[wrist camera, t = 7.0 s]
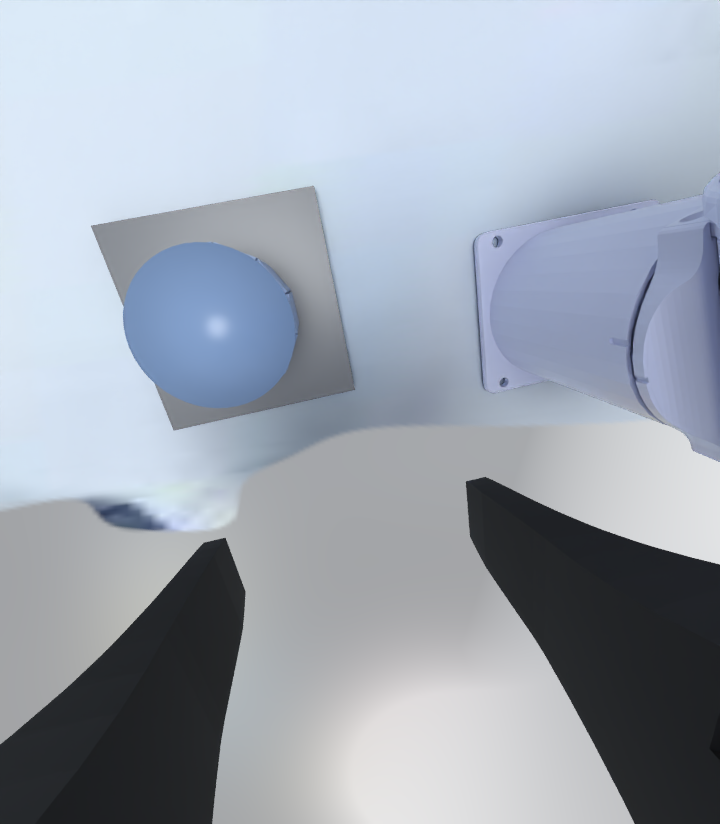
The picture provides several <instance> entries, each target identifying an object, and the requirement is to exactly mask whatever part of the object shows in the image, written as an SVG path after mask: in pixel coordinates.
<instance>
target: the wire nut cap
mask: <svg viewBox="0 0 720 824" xmlns="http://www.w3.org/2000/svg"><path fill="white" fill-rule="evenodd" d="M290 290H291V289H290V288H289V287H288V286H287V285H286V284H285V283H284V281H283V280H282V279H281V278H280V277H279V276H278V275H277V273H276V272H275V271H274V270H273V269H272V268H271V267H270V266H269V265H268V264H266V263H264V262H263V261H261V260H259V259H258V258H256V257H253V256H251V255H248V254H245V253H243V252H240V251H238V250H235V249H233V248H230V247H227V246H224V245H221V244H218V243H216V242H214V243H213V242H192V243H183V244H180V245H176V246H172V247H170V248H167V249H165V250H163V251H161V252H159V253H158V254H156V255H154V256H153V257H152V258H150V259H149V260H148V261H147V262H146V263H145V264H144V265H143V266H142V267H141V268H140V269H139V270H138V272H137V273H136V275H135V276H134V278H133V279H132V281H131V283H130V286H129V288H128V290H127V293H126V297H125V302H124V310H123V322H124V330H125V335H126V339H127V342H128V345H129V348H130V350H131V352H132V354H133V356H134V358H135V360H136V361H137V363H138V364H139V366H140V367H141V369H142V370H143V371H144V372H145V374H146V375H147V376H148V377H149V378H150V379H151V380H152V381H153V382H154V383H155V384H156V385H158V386H159V387H160V388H161V389H163V390H164V391H165V392H167V393H169V394H170V395H172V396H174V397H176V398H178V399H180V400H182V401H184V402H187V403H190V404H193V405H197V406H202V407H208V408H229V407H236V406H240V405H243V404H247V403H249V402H251V401H254V400H256V399H258V398H259V397H261V396H263V395H264V394H265V393H267V392H268V391H269V390H271V389H272V388H273V387H274V386H275V385H276V384H277V382H278V381H279V380H280V379H281V377H282V376H283V375H284V374H285V373H286V370H288V366H289V363H290V360H291V357H292V354H293V349H294V346H295V343H296V339H297V336H298V327H299V319H298V315H297V311H296V307H295V302H294V298H293V294H292V292H289V291H290ZM288 292H289V293H288Z"/></svg>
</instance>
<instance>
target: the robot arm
mask: <svg viewBox="0 0 720 824" xmlns="http://www.w3.org/2000/svg"><path fill="white" fill-rule="evenodd" d="M494 237H497V238H498V241H499V243H498V246H497V247H496V248H495V247H494V246H493V244H492V241H493V238H494ZM474 251H475V266H476V281H477V296H478V311H479V325H480V340H481V355H482V370H483V385H484V388H485V389H486V390H487V391H489V392H491V393H497V392H501V391H506V390H510V389H514V388H519V387H523V386H527V385H531V384H536V383H540V382H544V381H549V380H550V381H553V382H555V383H558V384H561V385H563V386H566V387H568V388H571V389H574V390H576V391H579V392H581V393H584V394H587V395H589V396H592V397H594V398H597V399H600V400H602V401H605V402H607V403H610V404H613V405H615V406H618V407H620V408H623V409H626V410H628V411H631V412H633V413H636V414H639V415H641V416H644V417H646V418H649V419H652V420H654V421H657V422H659V423H662V424H665V425H668V426H671V427H673V428H675V429H677V430H679V431H681V432H682V433H684V434H685V435H686V436H687V438H688V439H689V441H690V443H691V447H692V450H693V451H695V452H697V453H700V454H702V455H704V456H707V457H709V458H712V459H714V460H716V461H718V462H720V173H718V174H717V175H716V176H715V177H714V178H713V179H712V180H711V181H710V182H709V183H708V184H707V186H706V187H705V189H704V192H703V194H702V195H698V196H693V197H689V198H684V199H680V200H676V201H671V202H667V203H662V204H660V203H659V201H657V200H648V201H642V202H637V203H632V204H627V205H622V206H617V207H612V208H607V209H602V210H597V211H592V212H586V213H581V214H576V215H571V216H566V217H561V218H556V219H551V220H546V221H541V222H536V223H530V224H525V225H520V226H515V227H510V228H505V229H500V230H495V231H490V232H485V233H482V234H480V235H479V236H478V237H477V238H476V240H475V243H474ZM502 378H505V382H504V383H503V384H502V385H500V384H499V383H500V380H501V379H502ZM466 488H467V501H468V515H469V528H470V537H471V539H472V541H473V543H474V545H475V547H476V549H477V551H478V553H479V555H480V557H481V559H482V560H483V562H484V564H485V566H486V568H487V569H488V571H489V572H490V574H491V575H492V577H493V578H494V580H495V581H496V583H497V584H498V586H499V587H500V588H501V590H502V591H503V593H504V594H505V596H506V597H507V599H508V600H509V602H510V603H511V605H512V606H513V608H514V609H515V610H516V612H517V613H518V615H519V616H520V618H521V619H522V620H523V622H524V624H525V625H526V626H527V628H528V629H529V631H530V632H531V633H532V635H533V637H534V638H535V640H536V641H537V643H538V644H539V646H540V648H541V649H542V651H543V652H544V654H545V656H546V657H547V659H548V661H549V663H550V664H551V666H552V668H553V670H554V672H555V673H556V675H557V677H558V678H559V680H560V682H561V684H562V686H563V687H564V689H565V691H566V693H567V695H568V697H569V698H570V700H571V702H572V704H573V706H574V708H575V709H576V711H577V713H578V715H579V717H580V719H581V720H582V722H583V724H584V726H585V728H586V730H587V732H588V733H589V735H590V737H591V739H592V741H593V743H594V744H595V747H596V749H597V750H598V753H599V754H600V756H601V758H602V760H603V762H604V764H605V766H606V767H607V770H608V772H609V773H610V775H611V778H612V780H613V781H614V783H615V785H616V787H617V789H618V791H619V793H620V795H621V797H622V799H623V801H624V803H625V805H626V807H627V809H628V811H629V813H630V815H631V817H632V819H633V821H634V823H635V824H720V565H719V564H715V563H711V562H707V561H703V560H699V559H695V558H691V557H687V556H684V555H680V554H677V553H673V552H669V551H666V550H662V549H658V548H655V547H652V546H648V545H645V544H642V543H639V542H636V541H633V540H630V539H627V538H624V537H621V536H618V535H615V534H612V533H610V532H607V531H604V530H601V529H598V528H596V527H593V526H591V525H588V524H586V523H583V522H581V521H579V520H576V519H574V518H571V517H569V516H567V515H564V514H562V513H560V512H558V511H555V510H553V509H551V508H549V507H547V506H544V505H542V504H540V503H538V502H536V501H534V500H532V499H530V498H527V497H525V496H524V495H522V494H520V493H517V492H515V491H513V490H511V489H509V488H507V487H505V486H503V485H501V484H499V483H497V482H495V481H493V480H491V479H489V478H486V477H484V478H479V479H476V480H471V481H466ZM244 607H245V589H244V587H243V584H242V581H241V579H240V576H239V573H238V571H237V568H236V565H235V562H234V560H233V557H232V554H231V552H230V549H229V546H228V544H227V541H226V538H223V539H219V540H214V541H210V542H206V543H203V544H202V545H201V546H200V548H199V549H198V550H197V551H196V552H195V553H194V554H193V555H192V557H191V558H190V559H189V560H188V561H187V562H186V564H185V565H184V566H183V567H182V569H180V571H179V572H178V573H177V574H176V575H175V576H174V578H173V579H172V580H171V581H170V582H169V583H168V585H167V586H166V587H165V588H164V589H163V590H162V592H161V593H160V594H159V595H158V596H157V598H155V600H154V601H153V602H152V603H151V604H150V605H149V606H148V607H147V608H146V609H145V611H144V612H143V613H142V614H141V615H140V616H139V617H138V618H137V619H136V620H135V621H134V622H133V624H131V625H130V627H129V628H128V629H127V630H126V631H125V632H124V633H123V634H122V635H121V636H120V637H119V638H118V639H117V640H116V641H115V642H114V643H113V644H112V646H110V647H109V649H108V650H106V651H105V652H104V653H103V655H102V656H100V657H99V658H98V659H97V660H96V661H95V662H94V663H93V664H92V665H91V666H90V667H89V668H88V669H87V670H86V671H85V672H84V673H82V674H81V675H80V676H79V677H78V678H77V679H76V680H75V681H74V682H73V683H72V684H71V685H70V686H68V687H67V688H66V689H65V690H64V691H63V692H62V693H61V694H59V695H58V696H57V697H56V698H55V699H54V700H52V701H51V702H50V703H49V704H48V705H47V706H46V707H44V708H43V709H42V710H41V711H40V712H38V713H37V714H36V715H35V716H34V717H33V718H31V719H30V720H29V721H28V722H27V723H26V724H24V725H23V726H22V727H21V728H20V729H19V730H17V731H16V732H15V733H14V734H13V735H12V736H10V737H9V738H8V739H7V740H5V741H4V742H3V743H2V744H0V824H212V818H213V808H214V797H215V788H216V779H217V770H218V762H219V753H220V744H221V738H222V732H223V726H224V720H225V715H226V710H227V705H228V700H229V696H230V690H231V686H232V681H233V676H234V670H235V666H236V661H237V656H238V651H239V645H240V640H241V635H242V630H243V620H244Z"/></svg>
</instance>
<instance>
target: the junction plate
mask: <svg viewBox="0 0 720 824" xmlns="http://www.w3.org/2000/svg"><path fill="white" fill-rule="evenodd" d="M91 227H92V230H93V232H94V235H95V237H96V240H97V242H98V245H99V247H100V249H101V252H102V254H103V257H104V259H105V262H106V264H107V267H108V269H109V272H110V274H111V277H112V279H113V282H114V284H115V287H116V289H117V291H118V294H119V296H120V299H121V301H122V304H123V306H124V302H125V297H126V293H127V290H128V288H129V286H130V283H131V281H132V279H133V278H134V276H135V275H136V273H137V272H138V270H139V269H140V268H141V267H142V266H143V265H144V264H145V263H146V262H147V261H148V260H149V259H150V258H152V257H153V256H154V255H156V254H158V253H159V252H161V251H163V250H165V249H167V248H170V247H172V246H176V245H180V244H183V243H192V242H213V243H214V242H216V243H218V244H221V245H224V246H227V247H230V248H233V249H235V250H238V251H240V252H243V253H245V254H248V255H251V256H253V257H256V258H258V259H259V260H261V261H263V262H264V263H266V264H268V265H269V266H270V267H271V268H272V269H273V270H274V271H275V272H276V273H277V275H278V276H279V277H280V278H281V279H282V280H283V281H284V283H285V284H286V285H287V286H288V287H289V288H290V289H291V290H290V291H289V292H292V294H293V298H294V302H295V307H296V311H297V315H298V319H299V327H298V336H297V339H296V343H295V346H294V349H293V354H292V357H291V360H290V363H289V366H288V370H286V373H285V374H284V375H283V376H282V377H281V379H280V380H279V381H278V382H277V384H276V385H275V386H274V387H273V388H272V389H271V390H269V391H268V392H267V393H265V394H264V395H263V396H261V397H259V398H258V399H256V400H254V401H251V402H249V403H247V404H243V405H240V406H236V407H229V408H208V407H202V406H197V405H193V404H190V403H187V402H184V401H182V400H180V399H178V398H176V397H174V396H172V395H170V394H169V393H167V392H165V391H164V390H163V389H161V388H160V387H159V386H158V385H156V384H155V385H156V388H157V390H158V393H159V395H160V398H161V400H162V403H163V405H164V408H165V410H166V412H167V415H168V417H169V420H170V422H171V425H172V427H173V430H178V429H182V428H187V427H191V426H196V425H200V424H205V423H209V422H213V421H218V420H222V419H227V418H231V417H236V416H240V415H245V414H249V413H254V412H258V411H262V410H267V409H271V408H276V407H280V406H285V405H289V404H294V403H298V402H302V401H307V400H311V399H316V398H320V397H325V396H329V395H334V394H338V393H343V392H347V391H351V390H355V388H354V383H353V378H352V373H351V368H350V363H349V358H348V353H347V348H346V343H345V338H344V333H343V328H342V323H341V318H340V313H339V308H338V303H337V298H336V293H335V288H334V283H333V278H332V273H331V268H330V263H329V258H328V253H327V248H326V243H325V238H324V233H323V228H322V223H321V218H320V213H319V208H318V203H317V198H316V193H315V188H314V186H310V187H305V188H299V189H294V190H288V191H282V192H277V193H271V194H266V195H260V196H254V197H249V198H243V199H238V200H232V201H227V202H221V203H215V204H210V205H204V206H199V207H193V208H188V209H182V210H176V211H171V212H165V213H160V214H154V215H148V216H143V217H137V218H132V219H126V220H121V221H115V222H109V223H104V224H98V225H93V226H91ZM289 292H288V293H289Z"/></svg>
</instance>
